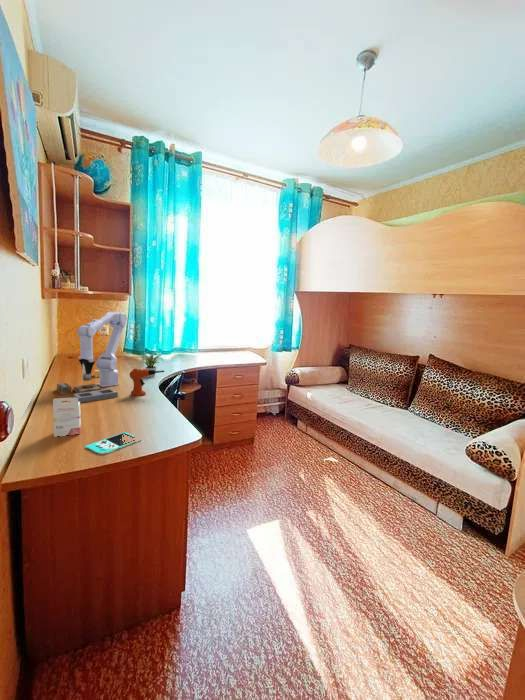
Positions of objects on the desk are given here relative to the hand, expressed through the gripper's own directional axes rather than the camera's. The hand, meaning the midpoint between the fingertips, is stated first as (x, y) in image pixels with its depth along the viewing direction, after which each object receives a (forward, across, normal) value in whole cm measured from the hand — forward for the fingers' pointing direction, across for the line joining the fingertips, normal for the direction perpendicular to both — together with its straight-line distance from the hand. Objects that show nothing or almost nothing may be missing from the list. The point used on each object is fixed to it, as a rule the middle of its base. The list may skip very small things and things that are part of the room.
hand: (86, 373), depth 170 cm
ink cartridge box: (+11, +51, -23) cm, 57 cm away
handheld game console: (+11, +70, -13) cm, 72 cm away
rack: (+10, +13, 0) cm, 17 cm away
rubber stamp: (+11, -30, +19) cm, 37 cm away
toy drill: (+11, +22, +23) cm, 34 cm away
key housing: (+10, -6, -9) cm, 15 cm away
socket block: (+10, 0, 0) cm, 10 cm away
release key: (+9, -8, -9) cm, 15 cm away
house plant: (+10, -13, +44) cm, 47 cm away
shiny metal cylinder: (+4, 0, 0) cm, 4 cm away
